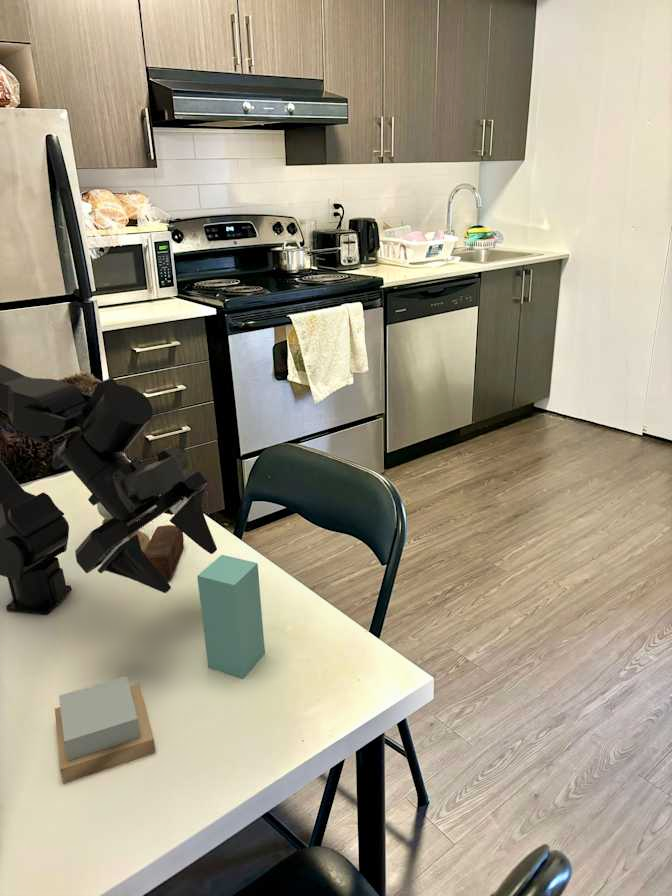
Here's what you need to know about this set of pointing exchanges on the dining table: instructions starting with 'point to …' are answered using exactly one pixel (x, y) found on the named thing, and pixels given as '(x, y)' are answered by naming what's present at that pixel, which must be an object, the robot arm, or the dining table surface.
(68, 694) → the tower middle block
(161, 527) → the brick
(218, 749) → the dining table surface
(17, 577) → the robot arm
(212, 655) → the tall teal block
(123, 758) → the tower base block
